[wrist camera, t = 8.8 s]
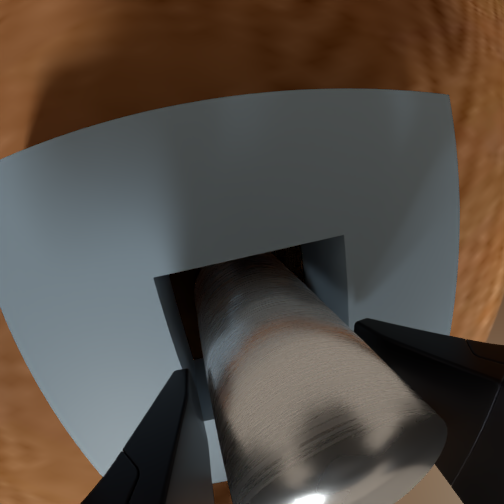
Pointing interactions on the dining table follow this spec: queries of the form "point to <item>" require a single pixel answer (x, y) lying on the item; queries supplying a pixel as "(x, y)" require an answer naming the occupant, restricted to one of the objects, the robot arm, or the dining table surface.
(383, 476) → the steel pin
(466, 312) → the dining table surface
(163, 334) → the blue peg hole block
